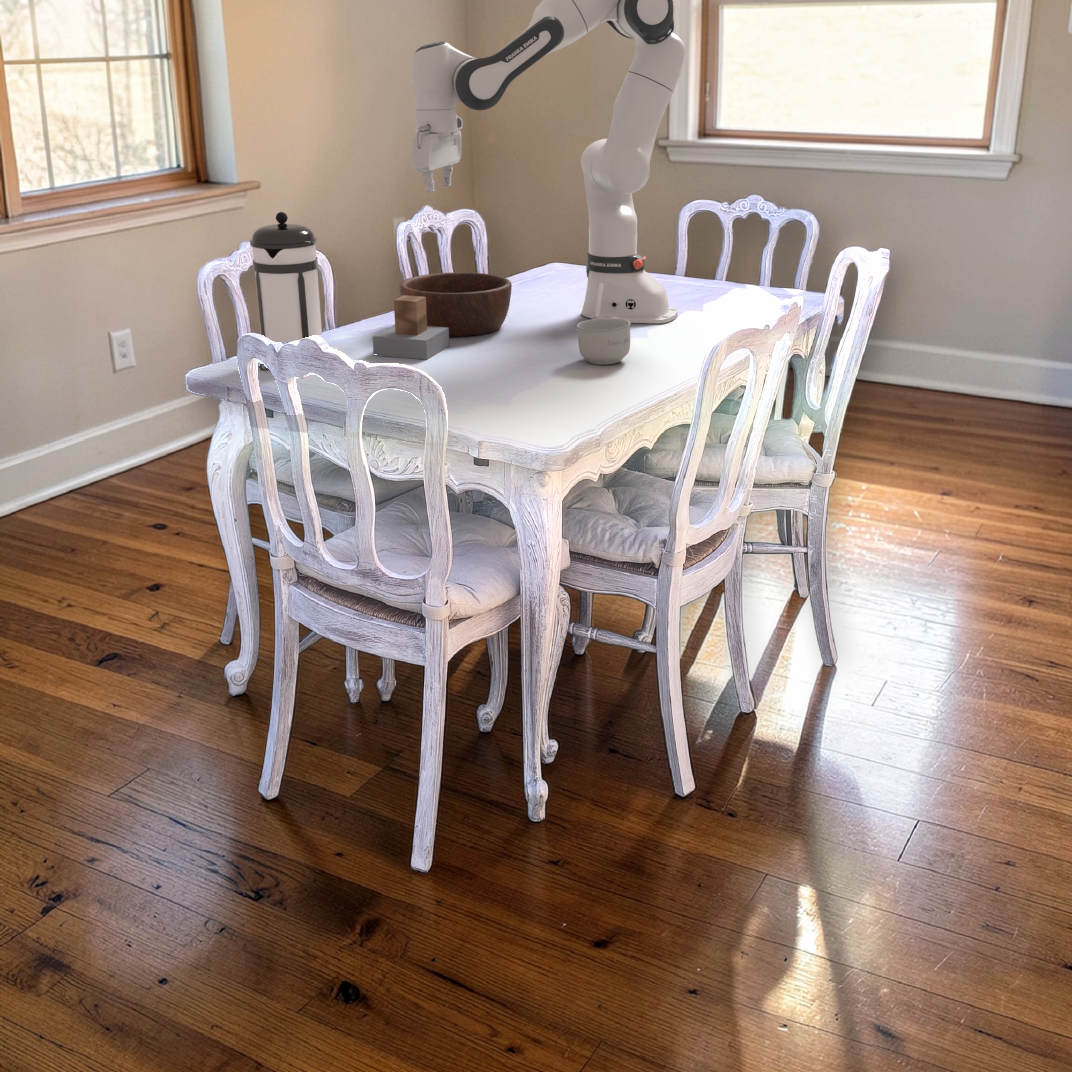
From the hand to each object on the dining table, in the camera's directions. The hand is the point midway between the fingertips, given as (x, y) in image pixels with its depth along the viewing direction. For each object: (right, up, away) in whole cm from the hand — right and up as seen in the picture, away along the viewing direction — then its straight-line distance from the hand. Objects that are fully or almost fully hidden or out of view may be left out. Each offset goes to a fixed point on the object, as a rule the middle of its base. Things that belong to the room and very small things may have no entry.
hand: (438, 188), depth 269 cm
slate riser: (-5, -38, -14) cm, 41 cm away
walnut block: (-4, -34, -16) cm, 38 cm away
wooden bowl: (+4, -30, +6) cm, 31 cm away
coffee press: (-28, -42, -23) cm, 55 cm away
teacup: (+36, -41, -22) cm, 59 cm away
